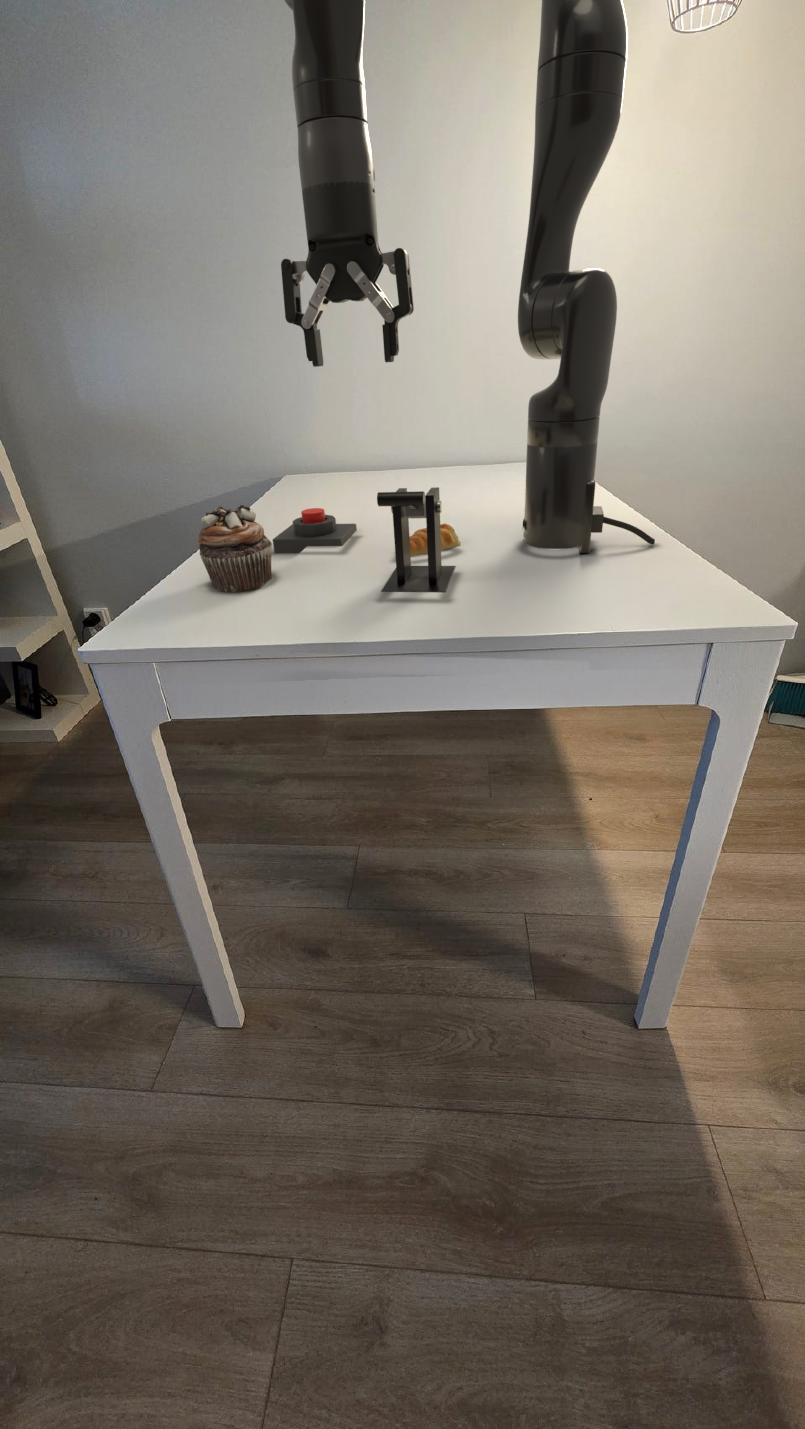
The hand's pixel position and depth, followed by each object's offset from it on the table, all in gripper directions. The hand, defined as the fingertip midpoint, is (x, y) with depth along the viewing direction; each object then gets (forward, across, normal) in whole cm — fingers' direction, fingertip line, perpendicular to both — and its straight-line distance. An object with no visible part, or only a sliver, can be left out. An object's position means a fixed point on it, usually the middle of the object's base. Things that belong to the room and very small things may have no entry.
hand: (353, 364), depth 74 cm
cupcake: (+26, -18, -3) cm, 31 cm away
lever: (+15, +7, -9) cm, 19 cm away
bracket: (+25, +7, -4) cm, 27 cm away
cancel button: (+22, -12, +15) cm, 29 cm away
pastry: (+26, +6, +10) cm, 28 cm away
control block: (+25, -12, +15) cm, 32 cm away
